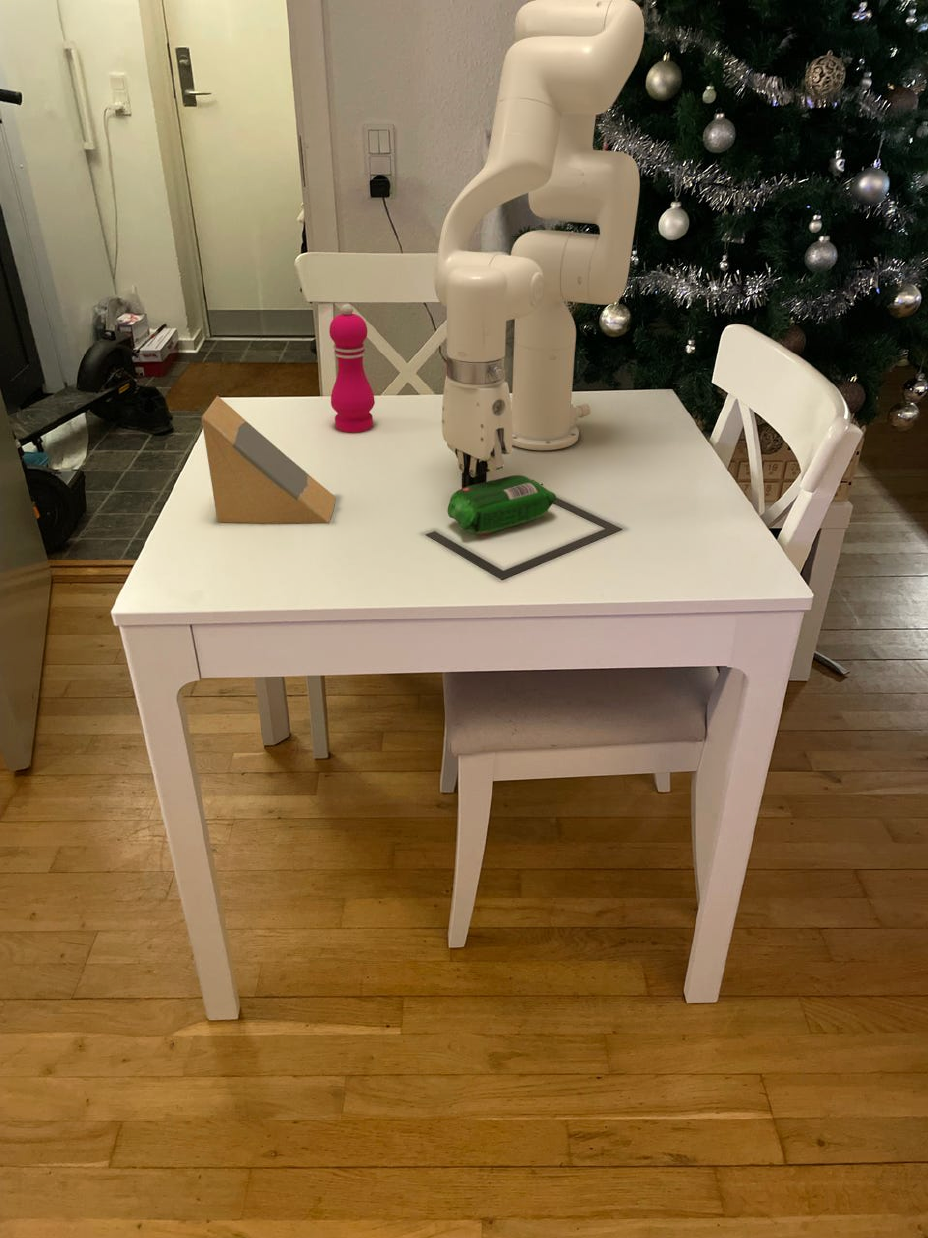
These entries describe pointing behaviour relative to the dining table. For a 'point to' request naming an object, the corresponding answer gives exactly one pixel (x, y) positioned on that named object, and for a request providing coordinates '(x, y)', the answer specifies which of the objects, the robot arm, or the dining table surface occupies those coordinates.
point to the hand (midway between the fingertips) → (473, 498)
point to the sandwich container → (257, 475)
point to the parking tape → (540, 559)
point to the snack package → (499, 504)
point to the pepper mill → (351, 373)
